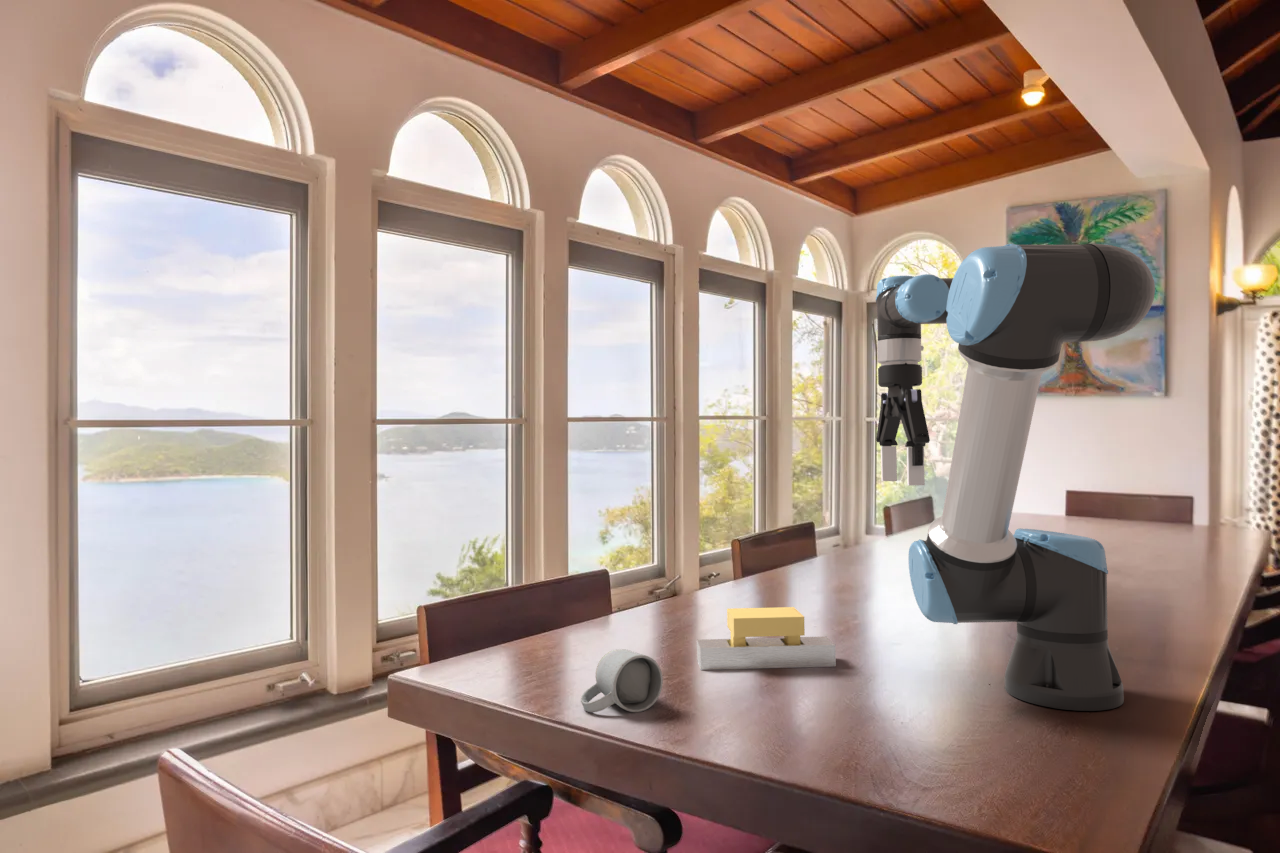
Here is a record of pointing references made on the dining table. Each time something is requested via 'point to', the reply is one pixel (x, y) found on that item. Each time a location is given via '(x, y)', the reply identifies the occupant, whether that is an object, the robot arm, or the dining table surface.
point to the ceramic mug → (624, 682)
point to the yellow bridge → (765, 624)
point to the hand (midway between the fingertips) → (902, 483)
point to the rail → (765, 653)
